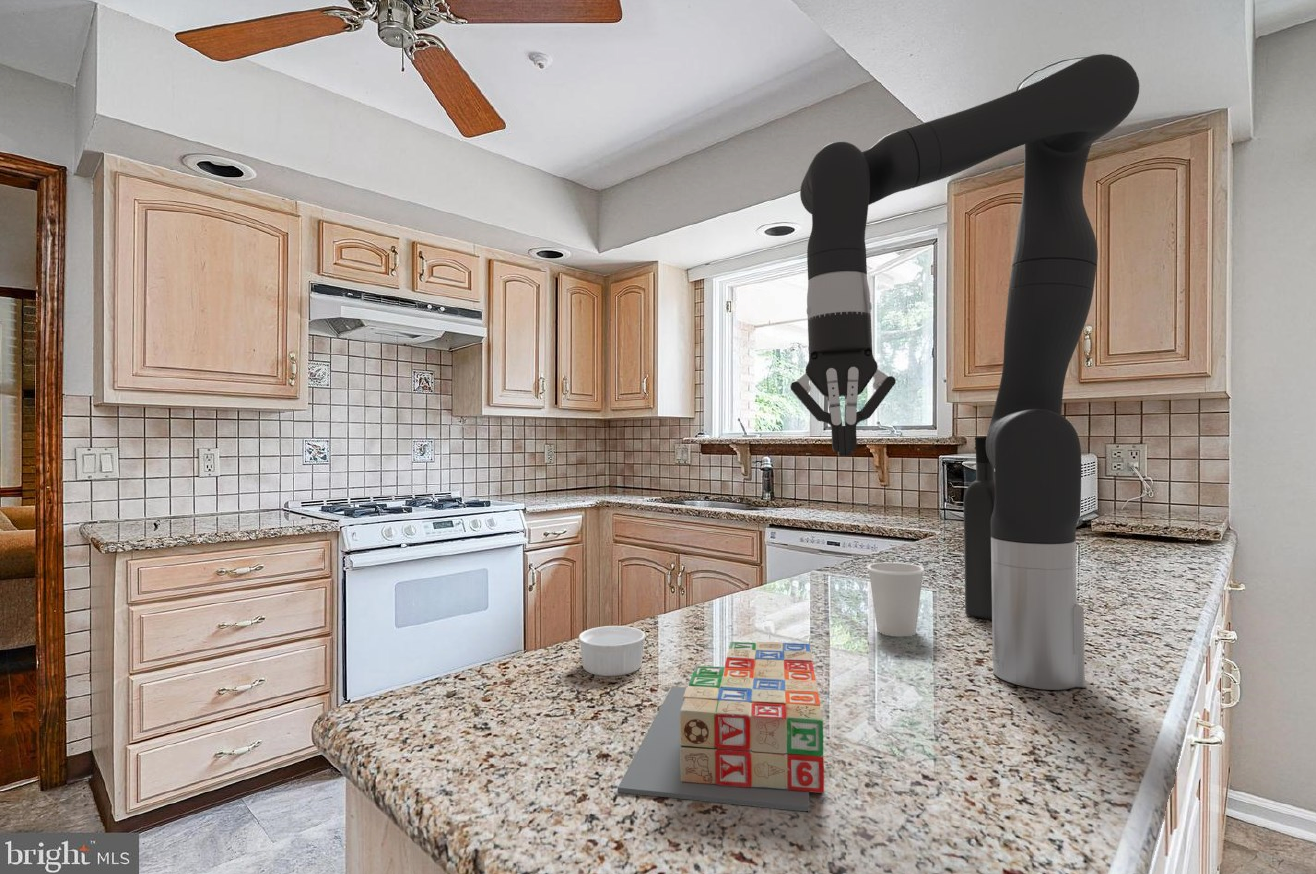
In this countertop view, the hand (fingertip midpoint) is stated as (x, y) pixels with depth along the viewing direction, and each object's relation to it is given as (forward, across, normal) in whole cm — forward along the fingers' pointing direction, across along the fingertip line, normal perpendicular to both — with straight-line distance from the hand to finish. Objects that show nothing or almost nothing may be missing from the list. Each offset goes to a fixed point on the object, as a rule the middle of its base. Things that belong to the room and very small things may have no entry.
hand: (844, 456), depth 82 cm
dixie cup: (+28, -8, -24) cm, 38 cm away
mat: (+28, +14, +18) cm, 35 cm away
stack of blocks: (+24, +5, +17) cm, 30 cm away
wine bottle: (+29, -25, -36) cm, 52 cm away
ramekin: (+28, +31, -2) cm, 41 cm away
